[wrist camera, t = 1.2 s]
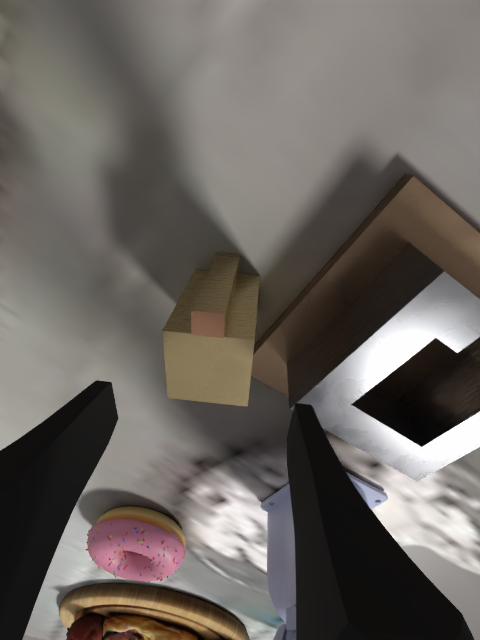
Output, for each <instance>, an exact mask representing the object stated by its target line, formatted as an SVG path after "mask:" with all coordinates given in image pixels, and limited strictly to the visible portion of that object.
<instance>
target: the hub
mask: <svg viewBox="0 0 480 640" xmlns="http://www.w3.org/2000/svg"><path fill="white" fill-rule="evenodd" d="M251 376H252V377H253V378H255V379H257V380H259V381H260V382H262V383H264V384H266V385H267V386H269V387H271V388H273V389H274V390H276V391H278V392H280V393H281V394H283V395H285V396H287V397H288V398H289V409H290V410H291V411H293V410H294V405H295V403H301V404H310V405H312V406H313V408H314V411H315V413H316V415H317V418H318V420H319V422H320V424H321V426H322V428H323V429H325V430H327V431H329V432H331V433H332V434H334V435H336V436H338V437H339V438H341V439H343V440H345V441H347V442H348V443H350V444H352V445H354V446H355V447H357V448H359V449H361V450H363V451H364V452H366V453H368V454H370V455H371V456H373V457H375V458H377V459H378V460H380V461H382V462H384V463H386V464H387V465H389V466H391V467H393V468H394V469H396V470H398V471H400V472H402V473H403V474H405V475H407V476H409V477H410V478H412V479H414V480H416V481H419V480H421V479H423V478H424V477H426V476H428V475H430V474H432V473H433V472H435V471H437V470H439V469H441V468H442V467H444V466H446V465H448V464H450V463H452V462H453V461H455V460H457V459H459V458H461V457H462V456H464V455H466V454H468V453H470V452H471V451H473V450H475V449H477V448H479V447H480V233H479V232H478V231H477V230H475V229H474V228H473V227H472V226H471V225H470V224H468V223H467V222H466V221H465V220H464V219H463V218H462V217H460V216H459V215H458V214H457V213H456V212H455V211H453V210H452V209H451V208H450V207H449V206H448V205H446V204H445V203H444V202H443V201H442V200H441V199H440V198H438V197H437V196H436V195H435V194H434V193H433V192H431V191H430V190H429V189H428V188H427V187H426V186H425V185H423V184H422V183H421V182H420V181H419V180H418V179H416V178H415V177H414V176H412V175H409V174H405V175H404V176H403V177H402V179H401V180H400V181H399V182H398V183H397V184H396V185H395V187H394V188H393V189H392V190H391V191H390V192H389V193H388V195H387V196H386V197H385V198H384V199H383V200H382V201H381V202H380V204H379V205H378V206H377V207H376V208H375V209H374V210H373V212H372V213H371V214H370V215H369V216H368V217H367V218H366V220H365V221H364V222H363V223H362V224H361V225H360V226H359V228H358V229H357V230H356V231H355V232H354V233H353V234H352V235H351V237H350V238H349V239H348V240H347V241H346V242H345V243H344V245H343V246H342V247H341V248H340V249H339V250H338V251H337V253H336V254H335V255H334V256H333V257H332V258H331V259H330V261H329V262H328V263H327V264H326V265H325V266H324V267H323V268H322V270H321V271H320V272H319V273H318V274H317V275H316V276H315V278H314V279H313V280H312V281H311V282H310V283H309V284H308V286H307V287H306V288H305V289H304V290H303V291H302V292H301V293H300V295H299V296H298V297H297V298H296V299H295V300H294V301H293V303H292V304H291V305H290V306H289V307H288V308H287V309H286V311H285V312H284V313H283V314H282V315H281V316H280V317H279V319H278V320H277V321H276V322H275V323H274V324H273V325H272V326H271V328H270V329H269V330H268V331H267V332H266V333H265V334H264V336H263V337H262V338H261V339H260V340H259V341H258V342H257V344H256V345H255V346H254V351H253V361H252V370H251Z"/></svg>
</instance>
